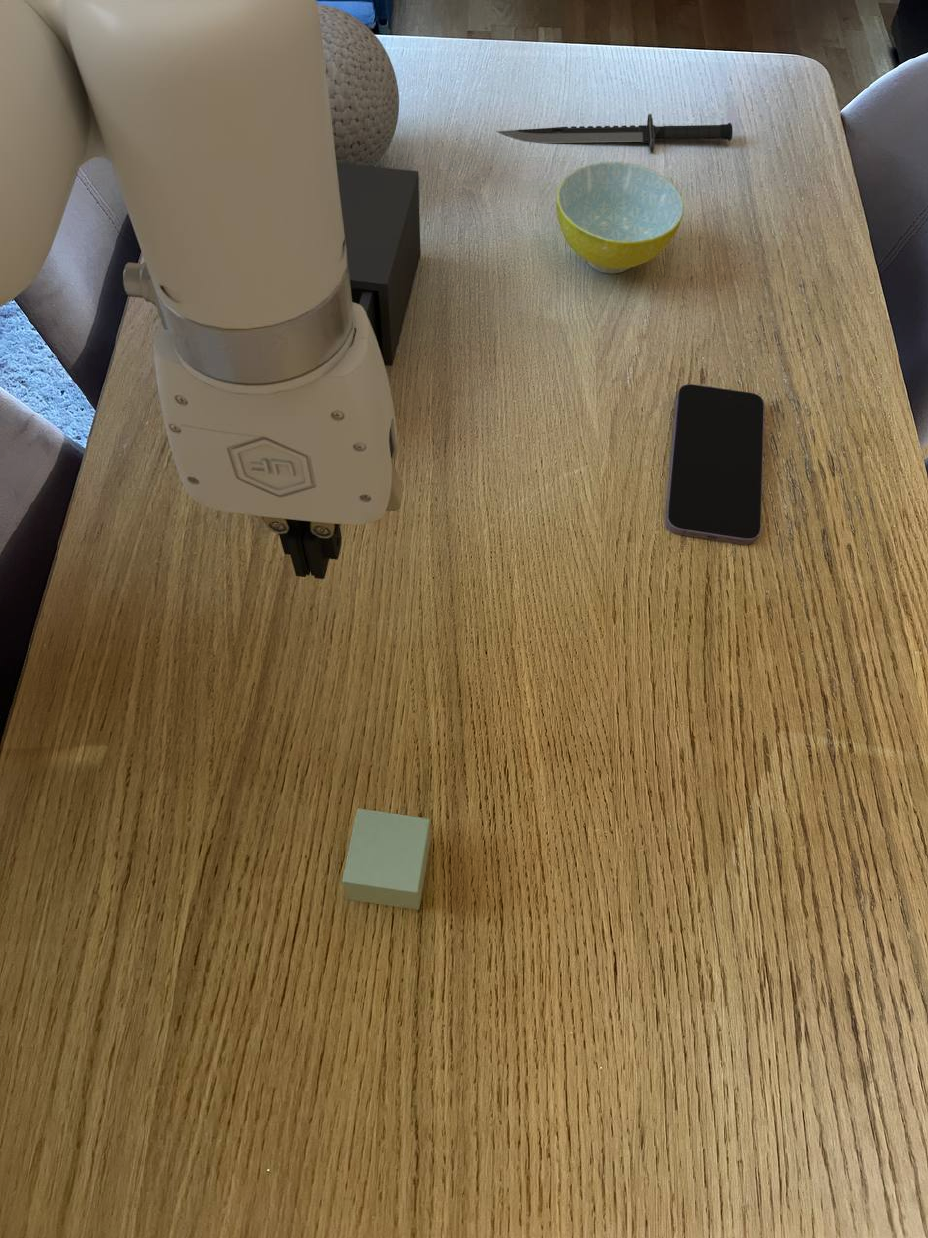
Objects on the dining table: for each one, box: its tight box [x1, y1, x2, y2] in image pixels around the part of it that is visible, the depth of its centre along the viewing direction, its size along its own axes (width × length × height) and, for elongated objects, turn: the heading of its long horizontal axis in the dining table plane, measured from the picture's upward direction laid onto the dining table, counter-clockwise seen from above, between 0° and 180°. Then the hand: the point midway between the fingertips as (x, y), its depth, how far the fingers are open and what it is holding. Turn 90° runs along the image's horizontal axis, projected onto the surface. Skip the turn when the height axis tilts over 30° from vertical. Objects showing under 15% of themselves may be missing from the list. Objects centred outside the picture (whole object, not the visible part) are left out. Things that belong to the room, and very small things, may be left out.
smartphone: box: [664, 383, 765, 545], centre depth 73 cm, size 7×1×15 cm
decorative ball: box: [317, 3, 400, 167], centre depth 85 cm, size 15×15×15 cm
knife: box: [495, 113, 734, 154], centre depth 95 cm, size 25×2×5 cm
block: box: [341, 807, 432, 911], centre depth 55 cm, size 4×4×4 cm
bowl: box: [556, 161, 685, 275], centre depth 84 cm, size 11×12×6 cm
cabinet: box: [336, 162, 422, 367], centre depth 79 cm, size 15×13×9 cm
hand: (315, 556), depth 52 cm, fingers closed
